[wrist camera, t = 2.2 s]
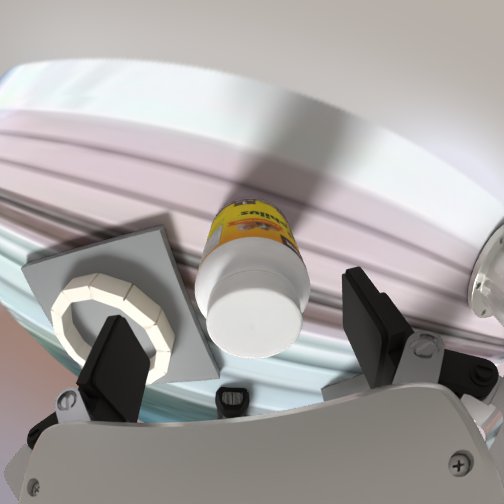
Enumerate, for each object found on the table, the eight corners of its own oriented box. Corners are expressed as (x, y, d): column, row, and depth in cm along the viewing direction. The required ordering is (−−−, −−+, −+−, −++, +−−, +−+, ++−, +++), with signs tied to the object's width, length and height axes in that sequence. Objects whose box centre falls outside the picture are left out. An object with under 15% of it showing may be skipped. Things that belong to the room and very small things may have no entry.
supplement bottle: (303, 223, 20) (350, 310, 11) (258, 278, 22) (268, 384, 13) (238, 179, 19) (234, 239, 9) (196, 242, 20) (164, 339, 11)
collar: (162, 224, 20) (151, 241, 17) (220, 371, 27) (218, 394, 24) (26, 263, 21) (9, 278, 18) (96, 377, 28) (88, 395, 25)
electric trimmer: (215, 439, 35) (214, 457, 32) (215, 384, 28) (214, 407, 25) (240, 440, 35) (240, 458, 33) (250, 386, 28) (251, 409, 26)
